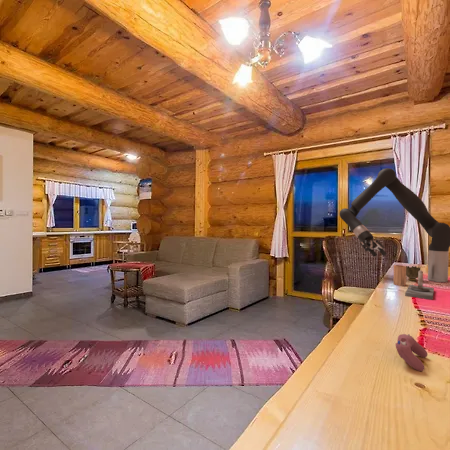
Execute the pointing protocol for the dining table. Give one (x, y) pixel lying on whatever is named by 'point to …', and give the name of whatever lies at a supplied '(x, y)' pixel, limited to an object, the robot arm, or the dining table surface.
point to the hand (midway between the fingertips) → (380, 255)
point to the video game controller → (410, 351)
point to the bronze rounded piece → (412, 272)
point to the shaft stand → (420, 289)
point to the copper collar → (399, 275)
